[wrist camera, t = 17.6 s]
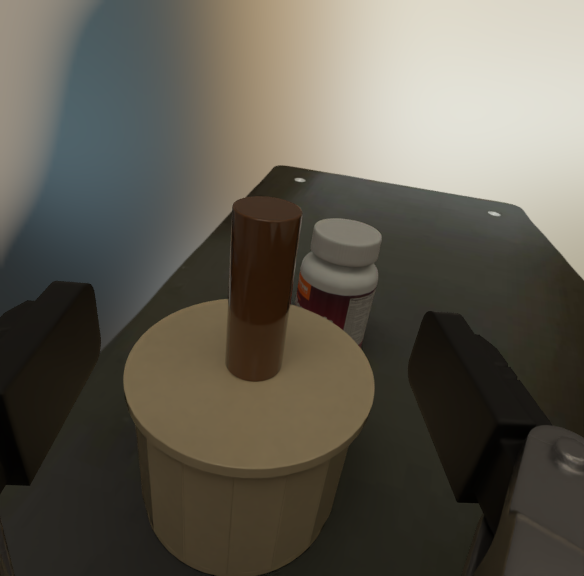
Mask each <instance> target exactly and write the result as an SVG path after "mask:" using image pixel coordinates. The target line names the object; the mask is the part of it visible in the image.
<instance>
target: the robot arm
mask: <svg viewBox="0 0 584 576" xmlns="http://www.w3.org/2000/svg"><path fill="white" fill-rule="evenodd" d="M100 346H101V337H100V330H99V322H98V315H97V307H96V300H95V293H94V289H93V287H92V285H91V284H88V283H76V282H64V281H54V282H52V283H51V284H50V285H49V286H48V287H47V288H46V290H45V291H44V292H43V293H42V294H41V295H40V296H39V297H38V298H37V300H36V301H28V300H27V301H25V302H24V303H22V304H20V305H18V306H16V307H14V308H12V309H11V310H9V311H7V312H5V313H4V314H3V315H2V316H1V317H0V493H1V492H2V490H3V488H4V487H5V485H26V486H30V484H31V482H32V481H33V479H34V477H35V475H36V473H37V471H38V470H39V468H40V466H41V464H42V462H43V460H44V459H45V457H46V455H47V453H48V451H49V449H50V448H51V446H52V444H53V442H54V440H55V438H56V437H57V435H58V433H59V431H60V429H61V427H62V426H63V424H64V422H65V420H66V418H67V416H68V414H69V413H70V411H71V409H72V407H73V405H74V403H75V402H76V400H77V398H78V396H79V394H80V392H81V391H82V389H83V387H84V385H85V383H86V381H87V380H88V378H89V376H90V374H91V372H92V370H93V369H94V367H95V365H96V363H97V360H98V357H99V353H100ZM408 378H409V383H410V386H411V388H412V391H413V393H414V396H415V398H416V401H417V403H418V406H419V408H420V411H421V413H422V416H423V418H424V421H425V423H426V426H427V428H428V431H429V433H430V436H431V438H432V441H433V443H434V446H435V448H436V451H437V453H438V456H439V458H440V461H441V463H442V466H443V468H444V471H445V473H446V476H447V478H448V481H449V483H450V486H451V488H452V491H453V493H454V496H455V498H456V501H457V502H460V503H479V505H480V507H481V509H482V511H483V514H482V516H481V517H480V519H479V521H478V524H477V527H476V530H475V533H474V536H473V540H472V543H471V546H470V549H469V552H468V555H467V558H466V562H465V565H464V568H463V571H462V574H461V576H584V438H583V437H581V436H579V435H577V434H576V433H574V432H571V431H569V430H567V429H564V428H561V427H557V426H553V425H552V424H551V422H550V421H549V420H548V418H547V417H546V416H545V414H544V413H543V411H542V410H541V409H540V407H539V406H538V405H537V403H536V402H535V400H534V399H533V398H532V396H531V395H530V394H529V392H528V391H527V389H526V388H525V387H524V385H523V384H522V383H521V381H520V380H517V376H516V374H515V373H514V372H513V370H512V369H511V367H508V363H507V362H506V361H505V359H504V358H503V356H502V355H501V354H500V352H499V351H498V350H497V348H495V347H494V346H493V345H492V344H490V343H489V342H488V341H486V340H485V339H484V338H483V337H481V336H480V335H476V334H474V333H473V331H472V330H471V328H470V327H469V325H468V324H467V322H466V321H465V319H464V318H463V317H462V315H460V314H458V313H448V312H435V311H428V312H427V313H426V314H425V315H424V317H423V320H422V322H421V325H420V329H419V332H418V335H417V338H416V341H415V344H414V347H413V350H412V353H411V356H410V359H409V364H408ZM0 576H15V574H14V570H13V566H12V562H11V558H10V554H9V550H8V546H7V542H6V538H5V534H4V530H3V526H2V522H1V518H0Z"/></svg>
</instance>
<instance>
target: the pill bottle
mask: <svg viewBox="0 0 584 576" xmlns="http://www.w3.org/2000/svg"><path fill="white" fill-rule="evenodd" d="M381 240H382V236H381V234H380V232H379V231H378V230H376V229H375V228H373V227H371V226H369V225H367V224H365V223H361V222H358V221H354V220H348V219H339V218H336V219H335V218H334V219H325V220H321V221H319V222H317V223H316V224H315V226H314V230H313V236H312V240H311V247H310V248H311V250H312V251H311V252H310V253H308V254H307V255H306V256H305V257H304V259H303V261H302V264H301V269H300V276H299V283H298V289H297V295H296V301H295V306H297V307H300V308H303V309H306V310H309V311H311V312H313V313H316V314H318V315H320V316H322V317H324V318H325V319H327V320H329V321H331V322H332V323H334V324H335V325H337V326H338V327H340V328H341V329H342V330H343V331H345V332H346V333H347V334H348V335H349V336H350V337H351V338H352V339H353V340H354V341H355V342H356V343H357V344H358V346H359V347H360V348H361V345H362V341H363V337H364V333H365V329H366V325H367V321H368V317H369V313H370V309H371V305H372V301H373V297H374V293H375V290H376V286H377V281H378V271H377V268H376V266H375V264H374V262H376V260H377V259H378V255H379V249H380V245H381Z"/></svg>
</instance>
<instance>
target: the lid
mask: <svg viewBox="0 0 584 576" xmlns="http://www.w3.org/2000/svg"><path fill="white" fill-rule="evenodd" d="M301 221H302V210H301V208H300V207H298V206H297V205H295V204H294V203H291V202H289V201H286V200H282V199H278V198H273V197H247V198H242V199H239V200H237V201H236V202H234V204H233V207H232V228H231V249H230V269H229V290H228V299H222V300H215V301H209V302H204V303H200V304H196V305H193V306H190V307H187V308H184V309H182V310H179V311H177V312H175V313H173V314H171V315H169V316H167V317H165V318H164V319H162V320H160V321H159V322H157V323H156V324H155V325H153V326H152V327H151V328H150V329H148V330H147V331H146V332H145V333H144V334H143V335H142V336H141V337H140V339H139V340H138V341H137V342H136V344H135V345H134V347H133V349H132V350H131V352H130V354H129V356H128V359H127V362H126V364H125V369H124V376H123V382H124V395H125V400H126V404H127V408H128V411H129V413H130V415H131V417H132V419H133V421H134V423H135V424H136V426H137V427H138V428H139V430H140V431H141V432H142V434H143V435H144V436H145V437H146V438H147V439H148V440H149V441H150V442H151V443H152V444H153V445H154V446H155V447H157V448H158V449H160V450H161V451H162V452H164V453H165V454H167V455H168V456H170V457H171V458H173V459H175V460H177V461H179V462H181V463H183V464H185V465H187V466H190V467H193V468H196V469H199V470H202V471H204V472H208V473H213V474H217V475H222V476H228V477H238V478H270V477H278V476H285V475H290V474H293V473H297V472H301V471H305V470H307V469H310V468H312V467H315V466H317V465H320V464H322V463H324V462H326V461H327V460H329V459H331V458H333V457H334V456H336V455H337V454H339V453H340V452H341V451H342V450H344V449H345V448H346V447H347V446H349V445H350V444H351V443H352V441H353V440H354V439H355V438H356V437H357V436H358V435H359V433H360V432H361V430H362V429H363V427H364V425H365V424H366V422H367V419H368V416H369V414H370V411H371V408H372V404H373V399H374V393H375V389H374V377H373V373H372V369H371V367H370V364H369V361H368V359H367V358H366V356H365V354H364V352H363V351H362V349H361V348H360V347H359V346H358V344H357V343H356V342H355V341H354V340H353V339H352V338H351V337H350V336H349V335H348V334H347V333H346V332H345V331H343V330H342V329H341V328H340V327H338V326H337V325H335V324H334V323H332V322H331V321H329V320H327V319H325V318H324V317H322V316H320V315H318V314H316V313H313V312H311V311H309V310H306V309H303V308H300V307H297V306H294V305H290V303H291V295H292V288H293V280H294V273H295V266H296V258H297V251H298V244H299V236H300V229H301Z"/></svg>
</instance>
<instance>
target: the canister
mask: <svg viewBox="0 0 584 576" xmlns="http://www.w3.org/2000/svg"><path fill="white" fill-rule="evenodd" d="M136 434H137V444H138V454H139V465H140V475H141V485H142V495H143V500H144V503H145V506H146V511H147V515H148V519H149V521H150V524H151V526H152V528H153V531H154V532H155V534H156V536H157V537H158V539H159V540H160V542H161V543H162V544H163V545H164V546H165V547H166V549H167V550H168V551H169V552H170V553H171V554H173V555H174V556H175V557H176V558H177V559H179V560H180V561H182V562H183V563H185V564H187V565H188V566H190V567H192V568H194V569H197V570H199V571H202V572H204V573H207V574H211V575H216V576H256V575H261V574H265V573H268V572H271V571H274V570H277V569H279V568H281V567H282V566H284V565H286V564H288V563H290V562H291V561H293V560H294V559H296V558H297V557H298V556H300V555H301V554H302V553H303V552H304V551H305V550H306V549H307V548H309V547H310V546H311V544H312V543H313V542H314V540H315V539H316V538H317V537H318V535H319V533H320V532H321V530H322V528H323V527H324V525H325V522H326V520H327V519H328V517H329V515H330V513H331V509H332V505H333V502H334V498H335V494H336V491H337V487H338V483H339V480H340V476H341V472H342V468H343V465H344V461H345V457H346V454H347V450H348V446H347V447H346V448H345V449H344V450H342V451H341V452H340V453H339V454H337V455H336V456H334V457H333V458H331V459H329V460H327V461H326V462H324V463H322V464H320V465H317V466H315V467H312V468H310V469H307V470H305V471H301V472H297V473H293V474H290V475H285V476H278V477H270V478H238V477H228V476H222V475H217V474H213V473H208V472H204V471H202V470H199V469H196V468H193V467H190V466H187V465H185V464H183V463H181V462H179V461H177V460H175V459H173V458H171V457H170V456H168V455H167V454H165V453H164V452H162V451H161V450H160V449H158V448H157V447H155V446H154V445H153V444H152V443H151V442H150V441H149V440H148V439H147V438H146V437H145V436H144V435H143V434H142V432H141V431H140V430H139V428H138V427H137V426H136Z"/></svg>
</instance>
